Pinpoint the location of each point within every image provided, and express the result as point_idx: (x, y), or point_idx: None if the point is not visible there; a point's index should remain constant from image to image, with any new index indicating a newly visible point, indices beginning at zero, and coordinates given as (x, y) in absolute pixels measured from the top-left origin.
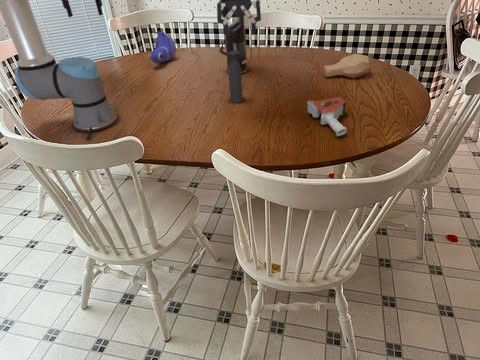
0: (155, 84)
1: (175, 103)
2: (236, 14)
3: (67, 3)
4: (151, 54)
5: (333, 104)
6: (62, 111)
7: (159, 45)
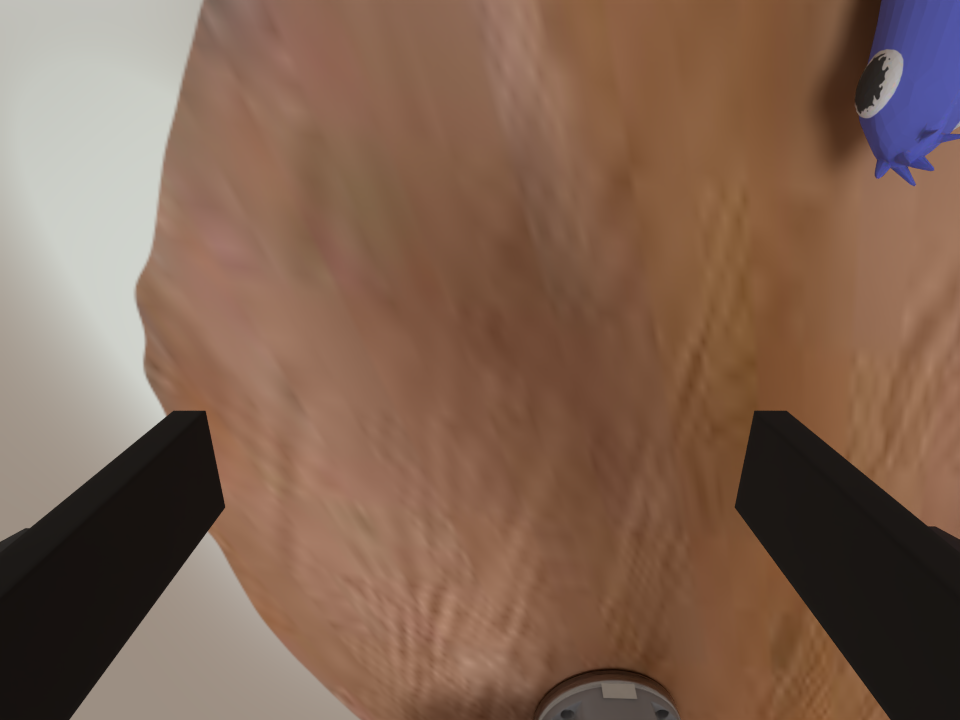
0: (822, 411)
1: None
2: None
3: (57, 661)
4: (908, 157)
5: None
6: (433, 638)
7: None
